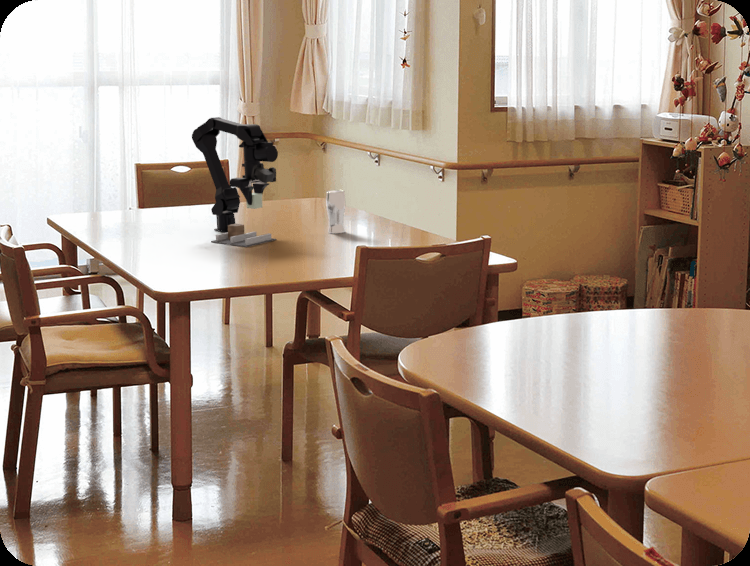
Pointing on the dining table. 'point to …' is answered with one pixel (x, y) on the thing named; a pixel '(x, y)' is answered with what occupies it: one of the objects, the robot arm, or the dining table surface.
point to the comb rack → (243, 239)
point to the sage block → (255, 201)
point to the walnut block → (235, 230)
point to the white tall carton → (335, 210)
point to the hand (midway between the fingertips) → (254, 204)
